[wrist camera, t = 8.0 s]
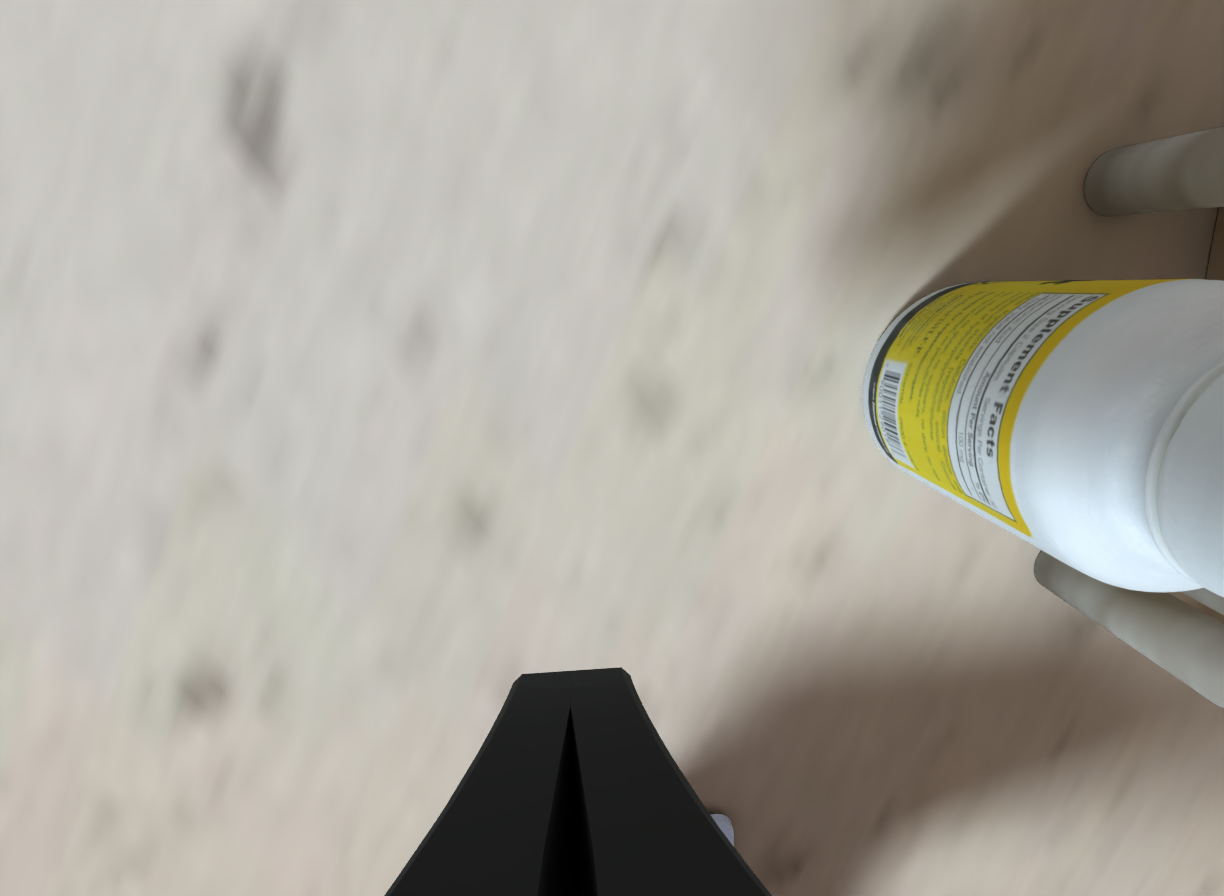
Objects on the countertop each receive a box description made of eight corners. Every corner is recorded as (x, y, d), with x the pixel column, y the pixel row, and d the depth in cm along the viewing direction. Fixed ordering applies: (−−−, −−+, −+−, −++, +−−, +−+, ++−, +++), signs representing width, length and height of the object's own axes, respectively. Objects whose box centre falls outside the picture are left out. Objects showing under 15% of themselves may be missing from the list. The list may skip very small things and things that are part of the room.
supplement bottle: (1093, 365, 18) (1681, 466, 8) (952, 515, 19) (1336, 759, 9) (957, 234, 17) (1453, 178, 7) (814, 399, 18) (1088, 542, 8)
